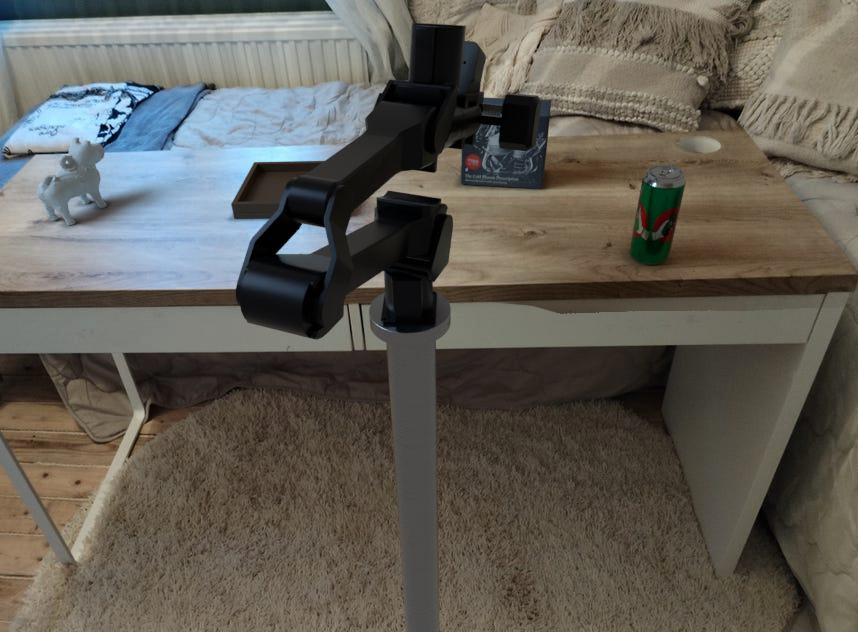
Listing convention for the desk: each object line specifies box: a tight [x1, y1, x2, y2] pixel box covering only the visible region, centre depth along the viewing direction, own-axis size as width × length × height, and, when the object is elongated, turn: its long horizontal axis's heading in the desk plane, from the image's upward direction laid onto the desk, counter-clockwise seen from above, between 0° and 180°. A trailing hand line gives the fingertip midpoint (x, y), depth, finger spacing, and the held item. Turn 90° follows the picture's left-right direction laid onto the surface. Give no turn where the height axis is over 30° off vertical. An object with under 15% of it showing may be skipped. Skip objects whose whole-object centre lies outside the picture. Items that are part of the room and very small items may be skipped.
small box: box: [460, 97, 552, 190], centre depth 111 cm, size 13×7×12 cm, turn 76°
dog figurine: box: [36, 137, 108, 226], centre depth 112 cm, size 5×13×11 cm, turn 152°
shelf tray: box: [230, 160, 325, 220], centre depth 114 cm, size 16×18×2 cm
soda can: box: [628, 164, 687, 266], centre depth 90 cm, size 5×5×12 cm
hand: (483, 110), depth 93 cm, fingers open, 9 cm apart
